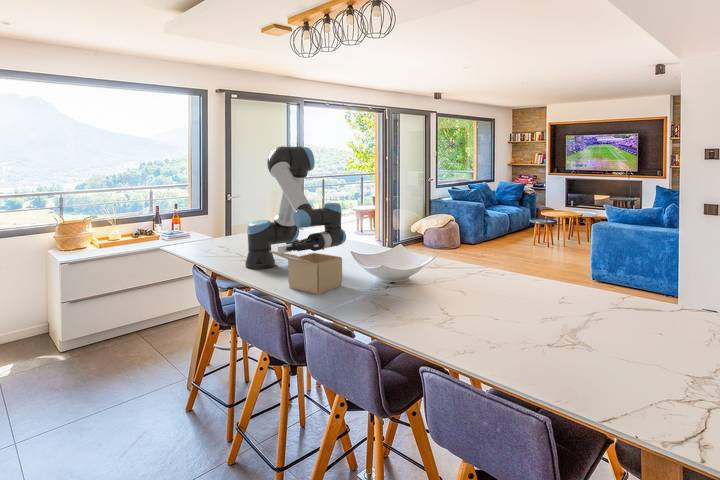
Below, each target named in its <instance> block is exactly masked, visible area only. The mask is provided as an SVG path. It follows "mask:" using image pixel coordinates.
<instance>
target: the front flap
mask: <svg viewBox="0 0 720 480" xmlns="http://www.w3.org/2000/svg"><path fill="white" fill-rule="evenodd" d="M269 252H271V253H272V254H273V255H276V256H278V257H281V258H283V259H286V260H287V261H288V260H292V261H297V262H303V263H308V264H313V265H314V264H315V263H312V262H310V261H308V260H305V259H303V258H301V257H299V256H300V255H297V254H290V253H286V252H285V253H281V254H280V253H278V251H272V250H271V251H269Z"/></svg>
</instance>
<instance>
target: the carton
mask: <svg viewBox="0 0 720 480" xmlns="http://www.w3.org/2000/svg"><path fill="white" fill-rule="evenodd" d="M298 256H299V257H301V258H303V259H305V260H308V261H310V262H312V263H315V264H314V265H313V264H308V263H303V262H297V261H292V260H288V259H287V266H288V267H287V268H288V271H287V272H288V274H287V275H288V284H289V285H288V286H289V289H291V290H295V291H299V290H300V291H299V292H305V293H308V294H313V295H320V294H323V293H326V292H329V291H331V290H335V289H337V288H340V287H342V283H343V257H341V256H337V255H331V254H326V253H325V254H324V253H319V252H310V253H307V254H302V255H298Z"/></svg>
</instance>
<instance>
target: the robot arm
mask: <svg viewBox="0 0 720 480" xmlns="http://www.w3.org/2000/svg"><path fill="white" fill-rule="evenodd" d="M266 162H267V163H266V164H267V169H268V172H269V173H270V175H271V176H272V177H273V178H275V180H276V181H277V184H278V185H279V187H280V189H281V190H282V194H281V199H280V203H279V204H280V205H279V209H278V214H276V215H275V217H274V220H273V221H271V220H269V219H259V220H255V221H251V222H249V224H247V232H246V233H247V248H248V250H247V251H248V253H247V255H246V260H245V268H247V269H250V270H251V269H252V270H253V269H254V270H265V269H270V268H273V267H275V266H276V259H274V254H273V253H271V252H269V251H272V245H277V252H278V253H280V254H281V253H285V254H286V253H291V252H296V251H297V252H301V251H307V250H310V251H312V252H317V251H321V250H322V251H324V250H325V249H327V248H328V249H329V248H332V247H338V246H340V245H343V244H344V243H345V242H346V240H347V234H346V232H345V230H344V229H342V205H341V204H340V203H338V202H327V203H324V204H323V207H322V208H313V206H312V205H311V204H310V201H309V200H308V199H307V197H306V195H305V193H304V192H303V189H302V185H303V181H304V179H306V178H307V176H308V172H310V171H313V170H314V167H315V162H316V161H315V156H314V153H313V151H312V149H311V148H309V147H307V146H302V145H301V146H285V145H284V146H277V147H275V148H274V149H272V150H271V152H270V153H269V154H268V158H267V161H266ZM323 226H324V230H323V231H319V232H314V233H310V234H309V235H307V238H303V239H299V235H300V228H305V229H306V228H312V227H313V228H314V227H323ZM279 244H283V245H279ZM278 245H279V246H278Z"/></svg>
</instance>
